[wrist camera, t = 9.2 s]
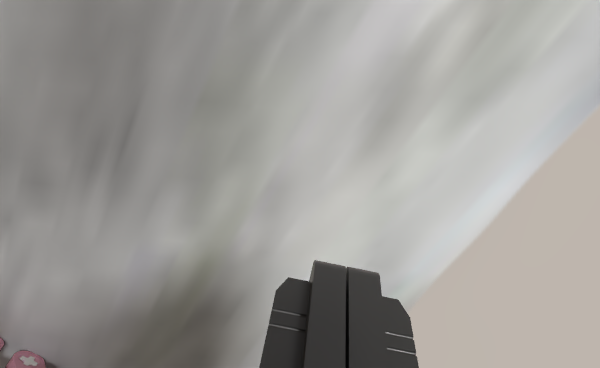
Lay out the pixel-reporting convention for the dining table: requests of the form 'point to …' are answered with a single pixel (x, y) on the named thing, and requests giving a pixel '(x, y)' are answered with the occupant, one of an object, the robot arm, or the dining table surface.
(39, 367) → the video game controller
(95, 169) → the dining table surface
